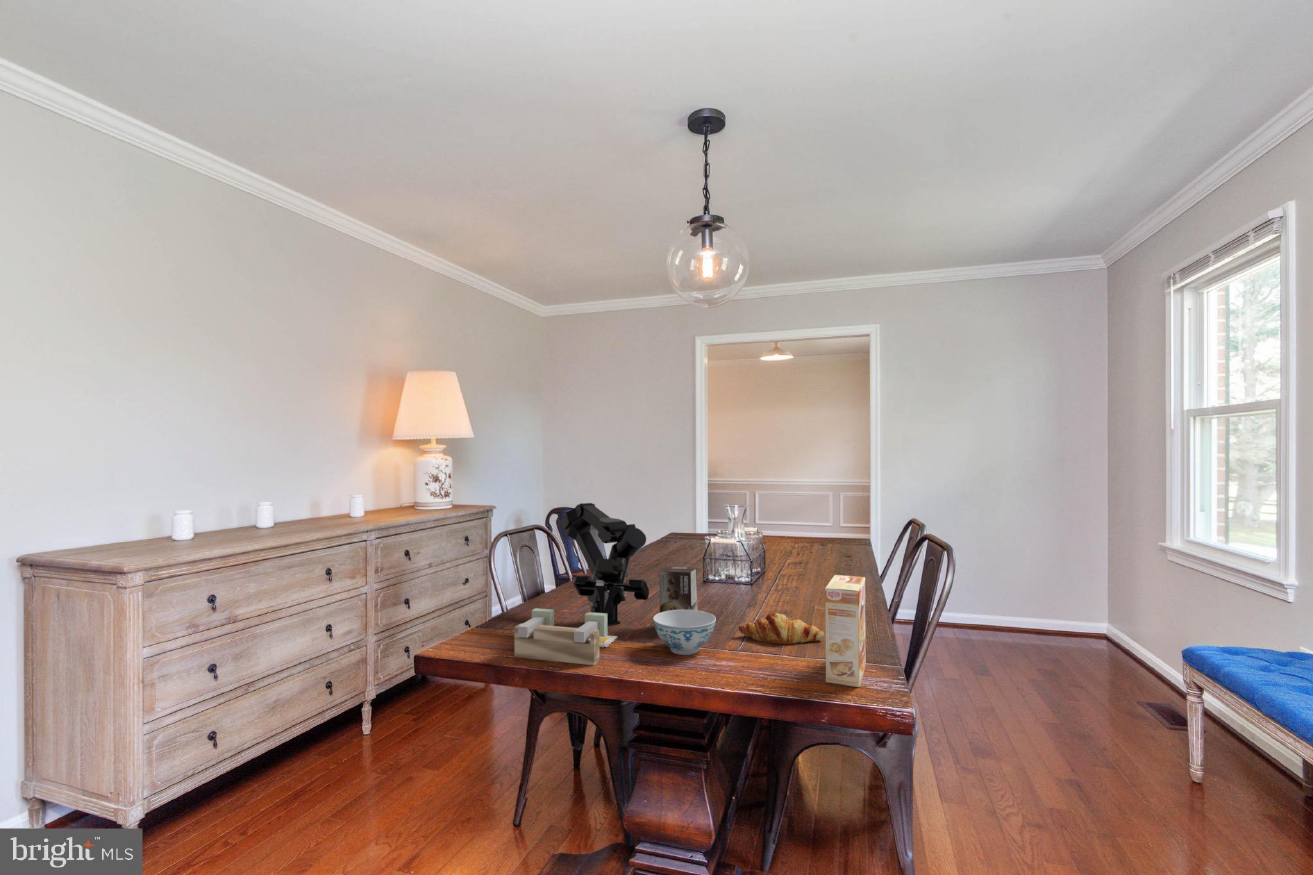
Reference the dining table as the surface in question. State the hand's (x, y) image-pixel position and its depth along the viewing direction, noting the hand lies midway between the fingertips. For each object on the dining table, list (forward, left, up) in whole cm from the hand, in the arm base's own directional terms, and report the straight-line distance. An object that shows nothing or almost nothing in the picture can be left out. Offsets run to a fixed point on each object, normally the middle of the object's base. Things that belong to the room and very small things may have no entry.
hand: (602, 617), depth 152 cm
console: (+13, +2, -7) cm, 15 cm away
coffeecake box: (-37, +44, -7) cm, 57 cm away
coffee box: (-24, -2, -7) cm, 25 cm away
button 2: (+6, +6, -3) cm, 9 cm away
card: (+1, -6, -7) cm, 9 cm away
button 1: (+16, -5, -3) cm, 17 cm away
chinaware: (-16, +13, -7) cm, 21 cm away
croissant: (-41, +19, -8) cm, 45 cm away
